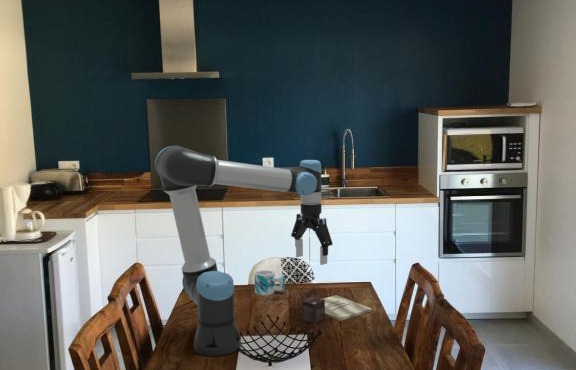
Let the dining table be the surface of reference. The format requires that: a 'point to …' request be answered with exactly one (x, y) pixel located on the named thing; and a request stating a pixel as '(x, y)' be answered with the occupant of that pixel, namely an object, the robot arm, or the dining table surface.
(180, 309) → the dining table surface
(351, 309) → the board
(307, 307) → the box
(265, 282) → the mug
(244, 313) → the dining table surface
